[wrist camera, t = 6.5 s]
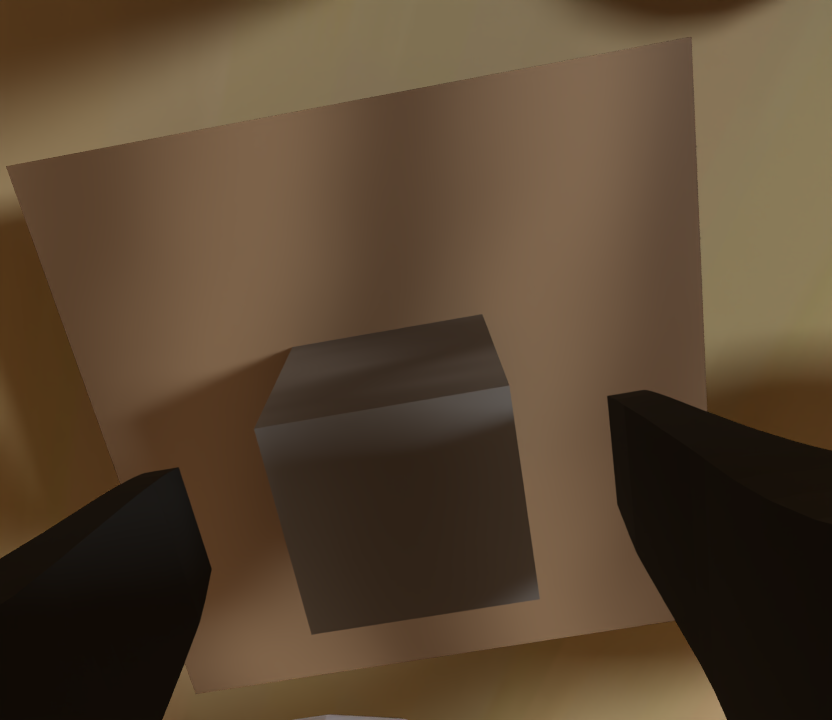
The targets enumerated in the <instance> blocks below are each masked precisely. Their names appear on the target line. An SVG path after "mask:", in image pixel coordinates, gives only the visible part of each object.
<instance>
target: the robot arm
mask: <svg viewBox="0 0 832 720" xmlns="http://www.w3.org/2000/svg"><path fill="white" fill-rule="evenodd" d="M607 401H608V411H609V422H610V433H611V444H612V454H613V465H614V476H615V486H616V497H617V505H618V508H619V510H620V513H621V516H622V518H623V521H624V523H625V526H626V529H627V531H628V534H629V536H630V538H631V541H632V543H633V546H634V548H635V551H636V553H637V555H638V557H639V558H640V560H641V562H642V564H643V566H644V567H645V569H646V571H647V573H648V574H649V576H650V578H651V580H652V581H653V583H654V585H655V587H656V588H657V590H658V592H659V594H660V595H661V597H662V599H663V601H664V602H665V604H666V606H667V607H668V609H669V611H670V613H671V614H672V616H673V618H674V619H675V621H676V623H677V625H678V626H679V628H680V630H681V631H682V633H683V635H684V637H685V638H686V640H687V642H688V644H689V645H690V647H691V649H692V650H693V652H694V654H695V656H696V657H697V659H698V661H699V662H700V664H701V666H702V668H703V670H704V672H705V674H706V676H707V678H708V680H709V682H710V683H711V685H712V687H713V689H714V691H715V693H716V696H717V698H718V700H719V702H720V705H721V707H722V709H723V711H724V714H725V716H726V718H727V720H832V451H831V450H826V449H822V448H818V447H813V446H810V445H806V444H802V443H799V442H795V441H791V440H788V439H785V438H782V437H779V436H775V435H772V434H769V433H766V432H763V431H759V430H756V429H753V428H750V427H748V426H745V425H742V424H739V423H736V422H733V421H731V420H728V419H725V418H723V417H720V416H717V415H715V414H712V413H709V412H707V411H704V410H702V409H699V408H696V407H694V406H691V405H689V404H686V403H684V402H681V401H679V400H676V399H673V398H671V397H668V396H665V395H662V394H659V393H656V392H653V391H649V390H639V391H633V392H627V393H621V394H615V395H609V396H607ZM211 571H212V568H211V565H210V562H209V559H208V556H207V552H206V549H205V546H204V543H203V540H202V537H201V534H200V531H199V528H198V525H197V522H196V519H195V515H194V512H193V509H192V506H191V503H190V500H189V497H188V494H187V491H186V488H185V485H184V482H183V478H182V475H181V472H180V469H179V467H177V468H171V469H165V470H159V471H153V472H147V473H143V474H140V475H138V476H136V477H133V478H131V479H129V480H127V481H126V482H124V483H122V484H120V485H118V486H117V487H115V488H113V489H112V490H110V491H108V492H107V493H105V494H103V495H102V496H100V497H99V498H97V499H95V500H94V501H92V502H91V503H89V504H87V505H86V506H84V507H83V508H81V509H80V510H78V511H77V512H75V513H73V514H72V515H70V516H69V517H67V518H66V519H64V520H62V521H61V522H59V523H58V524H56V525H55V526H53V527H51V528H50V529H48V530H47V531H45V532H44V533H42V534H40V535H39V536H37V537H35V538H34V539H32V540H30V541H29V542H27V543H25V544H24V545H22V546H20V547H19V548H17V549H15V550H14V551H12V552H11V553H9V554H7V555H6V556H4V557H2V558H1V559H0V720H162V719H163V716H164V714H165V711H166V709H167V706H168V704H169V701H170V699H171V696H172V694H173V691H174V689H175V686H176V683H177V681H178V678H179V676H180V673H181V671H182V668H183V666H184V663H185V661H186V658H187V655H188V653H189V650H190V648H191V645H192V642H193V640H194V637H195V634H196V632H197V629H198V626H199V623H200V620H201V616H202V612H203V608H204V604H205V600H206V595H207V590H208V586H209V581H210V576H211ZM294 720H407V719H403V718H391V717H373V716H355V715H338V714H328V715H321V716H315V717H308V718H301V719H294Z"/></svg>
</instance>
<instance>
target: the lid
mask: <svg viewBox="0 0 832 720" xmlns="http://www.w3.org/2000/svg"><path fill="white" fill-rule="evenodd" d="M6 167H7V170H8V173H9V176H10V179H11V181H12V184H13V187H14V190H15V193H16V195H17V198H18V201H19V204H20V206H21V209H22V212H23V215H24V218H25V220H26V223H27V226H28V229H29V231H30V234H31V237H32V240H33V243H34V245H35V248H36V251H37V254H38V256H39V259H40V262H41V265H42V268H43V270H44V273H45V276H46V279H47V282H48V284H49V287H50V290H51V293H52V295H53V298H54V301H55V304H56V307H57V309H58V312H59V315H60V318H61V320H62V323H63V326H64V329H65V332H66V334H67V337H68V340H69V343H70V345H71V348H72V351H73V354H74V357H75V359H76V362H77V365H78V368H79V371H80V373H81V376H82V379H83V382H84V384H85V387H86V390H87V393H88V396H89V398H90V401H91V404H92V407H93V409H94V412H95V415H96V418H97V421H98V423H99V426H100V429H101V432H102V434H103V437H104V440H105V443H106V446H107V448H108V451H109V454H110V457H111V460H112V462H113V465H114V468H115V471H116V473H117V476H118V479H119V482H120V484H122V483H124V482H126V481H127V480H129V479H131V478H133V477H136V476H138V475H140V474H143V473H147V472H153V471H159V470H165V469H171V468H177V467H179V469H180V472H181V475H182V478H183V482H184V485H185V488H186V491H187V494H188V497H189V500H190V503H191V506H192V509H193V512H194V515H195V519H196V522H197V525H198V528H199V531H200V534H201V537H202V540H203V543H204V546H205V549H206V552H207V556H208V559H209V562H210V565H211V568H212V571H211V576H210V581H209V586H208V590H207V595H206V600H205V604H204V608H203V612H202V616H201V620H200V623H199V626H198V629H197V632H196V634H195V637H194V640H193V642H192V645H191V648H190V650H189V653H188V655H187V658H186V661H185V665H186V668H187V671H188V674H189V676H190V679H191V682H192V685H193V688H194V690H195V693H196V694H199V693H205V692H212V691H218V690H225V689H232V688H238V687H245V686H251V685H258V684H264V683H271V682H277V681H284V680H290V679H297V678H303V677H310V676H316V675H323V674H329V673H336V672H342V671H349V670H356V669H362V668H369V667H375V666H382V665H388V664H395V663H401V662H408V661H414V660H421V659H427V658H434V657H440V656H447V655H453V654H460V653H467V652H473V651H480V650H486V649H493V648H499V647H506V646H512V645H519V644H525V643H532V642H538V641H545V640H551V639H558V638H564V637H571V636H578V635H584V634H591V633H597V632H604V631H610V630H617V629H623V628H630V627H636V626H643V625H649V624H656V623H662V622H669V621H675V619H674V618H673V616H672V614H671V613H670V611H669V609H668V607H667V606H666V604H665V602H664V601H663V599H662V597H661V595H660V594H659V592H658V590H657V588H656V587H655V585H654V583H653V581H652V580H651V578H650V576H649V574H648V573H647V571H646V569H645V567H644V566H643V564H642V562H641V560H640V558H639V557H638V555H637V553H636V551H635V548H634V546H633V543H632V541H631V538H630V536H629V534H628V531H627V529H626V526H625V523H624V521H623V518H622V516H621V513H620V510H619V508H618V505H617V497H616V486H615V476H614V465H613V454H612V444H611V433H610V422H609V411H608V401H607V396H609V395H615V394H621V393H627V392H633V391H639V390H649V391H653V392H656V393H659V394H662V395H665V396H668V397H671V398H673V399H676V400H679V401H681V402H684V403H686V404H689V405H691V406H694V407H696V408H699V409H702V410H704V411H707V394H706V370H705V347H704V323H703V300H702V276H701V252H700V229H699V205H698V182H697V158H696V134H695V111H694V87H693V64H692V40H691V37H687V38H682V39H677V40H672V41H666V42H661V43H656V44H650V45H645V46H640V47H635V48H629V49H624V50H619V51H613V52H608V53H603V54H598V55H592V56H587V57H582V58H576V59H571V60H566V61H561V62H555V63H550V64H545V65H539V66H534V67H529V68H524V69H518V70H513V71H508V72H502V73H497V74H492V75H487V76H481V77H476V78H471V79H465V80H460V81H455V82H450V83H444V84H439V85H434V86H428V87H423V88H418V89H413V90H407V91H402V92H397V93H391V94H386V95H381V96H376V97H370V98H365V99H360V100H354V101H349V102H344V103H339V104H333V105H328V106H323V107H317V108H312V109H307V110H302V111H296V112H291V113H286V114H280V115H275V116H270V117H265V118H259V119H254V120H249V121H243V122H238V123H233V124H228V125H222V126H217V127H212V128H206V129H201V130H196V131H191V132H185V133H180V134H175V135H169V136H164V137H159V138H154V139H148V140H143V141H138V142H132V143H127V144H122V145H117V146H111V147H106V148H101V149H95V150H90V151H85V152H80V153H74V154H69V155H64V156H58V157H53V158H48V159H43V160H37V161H32V162H27V163H21V164H16V165H11V166H6Z"/></svg>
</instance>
